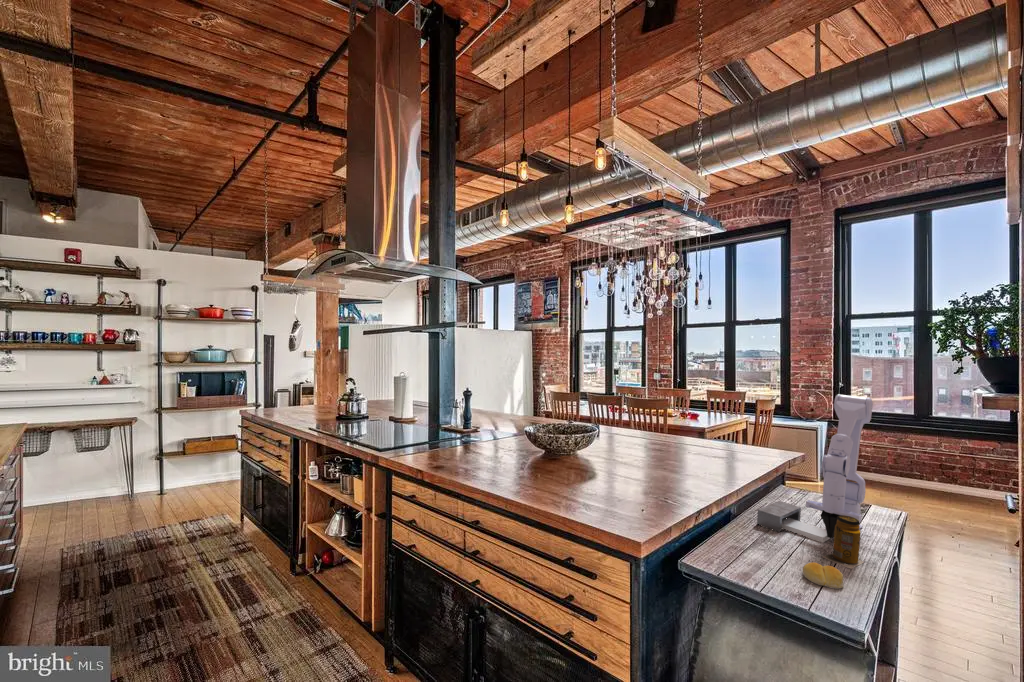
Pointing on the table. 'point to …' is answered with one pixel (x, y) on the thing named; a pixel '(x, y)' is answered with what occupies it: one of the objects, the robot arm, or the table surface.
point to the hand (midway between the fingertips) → (830, 537)
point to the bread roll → (823, 575)
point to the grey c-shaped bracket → (777, 514)
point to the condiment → (846, 542)
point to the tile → (805, 530)
